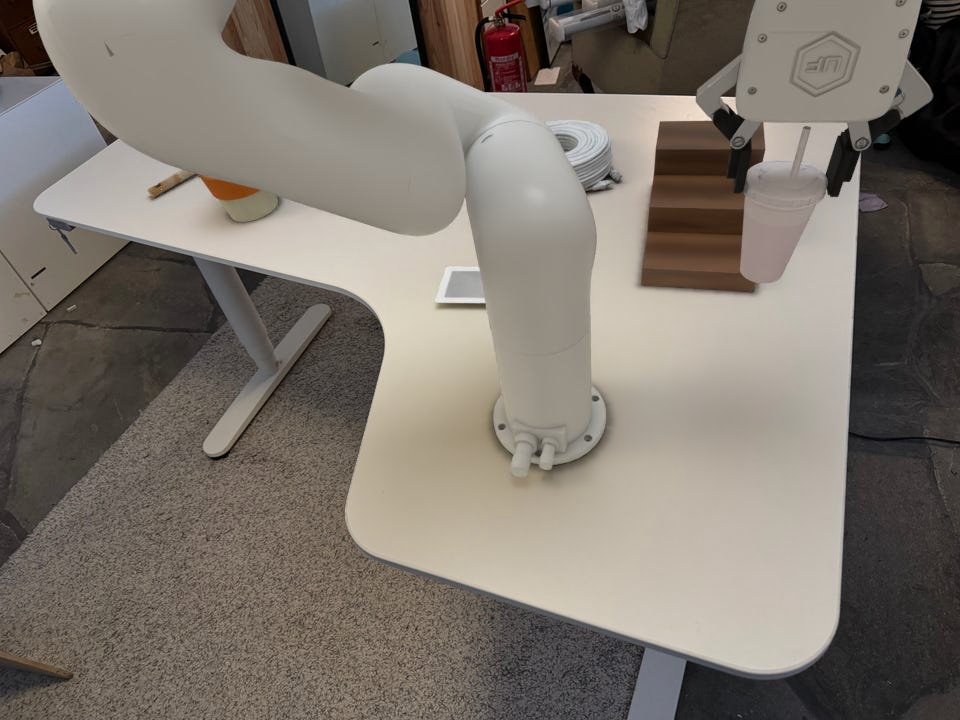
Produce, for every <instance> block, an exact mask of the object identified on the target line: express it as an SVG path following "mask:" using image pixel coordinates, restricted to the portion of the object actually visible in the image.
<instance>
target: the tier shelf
mask: <svg viewBox="0 0 960 720" xmlns="http://www.w3.org/2000/svg"><path fill="white" fill-rule="evenodd" d="M658 123H659V124H658V131H657V138H656V144H655V151H654V152H655V153H654V165H653V175H652V176H653V177H652V183H651V184H652V185H651V190H650V191H651V192H650V199H649V203H648V215H647V216H648V217H647V230H646V231H647V232H646V240H645V245H644V246H645V247H644V252H643V260H642V266H641V281H640V285H641V286H650V287H665V288H667V287H668V288H684V289H699V290H700V289H701V290H716V291H733V292H748V293H749V292H750V293H754V291H755V288H756V287H755V286H756V284H757V283H756V282H752V281H750V280H748V279H746V278H745V277H744V276H743V275H742V274H741V272H740V263H741V248H742V234H743V219H744V203H745V195H744V193H743V192H741V193H740V194H734V193H733V192H734V179H726V173H727V166H728V160H729V155H730V149H731V145H730V141H729V140H728V139H727V138H726V137H725V136H724V135H723V134H722V133H721V132H720V131H719V129H718V128H717V127H716V126H715V125H714V124H713V121H712V120H660V121H659V122H658ZM765 137H766V136H765V124H764V122H762V123H761V124H760V126H759V127H758V128H757V130H756V131H755V133H754V134H753V135H752V137H751V142H752V152H751V158H750V162H749V167H748V170H749V169H750V168H751V167H753V166H754V165H756V164H759V163H761V162H764V157H765V153H766V138H765Z"/></svg>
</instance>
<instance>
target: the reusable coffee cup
mask: <svg viewBox="0 0 960 720" xmlns="http://www.w3.org/2000/svg"><path fill="white" fill-rule="evenodd" d="M197 175H198V177H199V179H201V181H202V182H203V184H204V185H205V187H206V188H207V190H208V191H209V192H210V193H211V195H212V197H214V198H215V199H217V200H218V201H219V202H220V204H221V205H222V207H223V208H224V210H225V211H226V212H227V213H228V215H229V216H230V218H231V219H232V220H233V221H236V222H240V223H243V222H244V223H245V222H246V223H247V222H252V221H256V220H259V219H262V218H264V217H266V216H268V215H269V214H270V213H272V212H273V211H274V210H275V209H276V208H277V206H278V205H279V198H278V195H275V194H271V193H268V192H265V191H262V190H258V189H255V188H251V187H247V186H243V185H239V184H235V183H232V182H227V181H223V180H219V179H215V178H211V177H207V176H203V175H199V174H197Z"/></svg>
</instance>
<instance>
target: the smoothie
mask: <svg viewBox="0 0 960 720" xmlns="http://www.w3.org/2000/svg"><path fill="white" fill-rule="evenodd" d="M811 130H812V127H811V126H809V125H805V126H803V127H802V130H801V134H800V138H799V141H798V145H797V148H796V152H795V156H794V159H781V158H780V159H770V160H765V161H763V162H761V163H759V164H756V165H754V166H753V167H751V168H750V169H749V170H748V172H747V176H746V181H745V186H744V190H743V193H744V195H745V203H744V219H743V234H742V248H741V263H740V272H741V274H742V275H743V276H744V277H745V278H746V279H748V280H750V281H752V282H756V283H755V284H772V283H776V282H777V281H779V280H780V279H781V278H782V276H783V275H784V273H785V270H786V269H787V266H788V264H789V262H790V260H791V258H792V256H793V254H794V252H795V250H796V247H797V246H798V244H799V241H800V240H801V237H802V235H803V233H804V231H805V229H806V227H807V225H808V223H809V221H810V219H811V217H812V215H813V213H814V210H815V208H816V206H817V205H818V204H819V203H821V202H822V201H823V200H824V198H825V196H826V194H827V186H828V179H827V177H826V175H825V174H826V173H825V172H823V171H822V170H821V169H820V168H818V167H817V166H815V165H813V164H810V163H807V162H805V161H803V158H804V154H805V151H806V147H807V144H808V141H809V137H810V134H811Z"/></svg>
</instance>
